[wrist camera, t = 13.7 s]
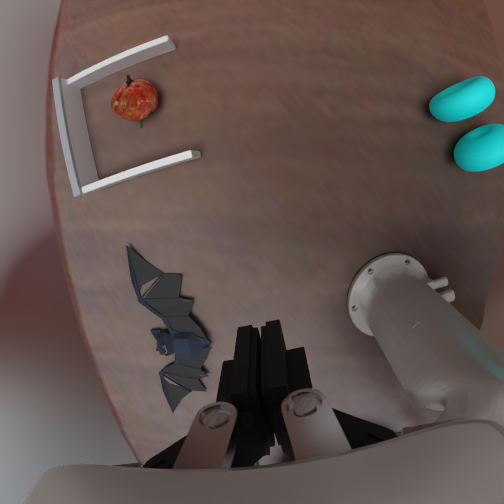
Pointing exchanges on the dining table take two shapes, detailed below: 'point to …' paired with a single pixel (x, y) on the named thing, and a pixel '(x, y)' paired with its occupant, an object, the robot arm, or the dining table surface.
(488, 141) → the donuts
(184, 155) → the box
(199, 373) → the decorative bat
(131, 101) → the pomegranate
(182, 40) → the dining table surface
